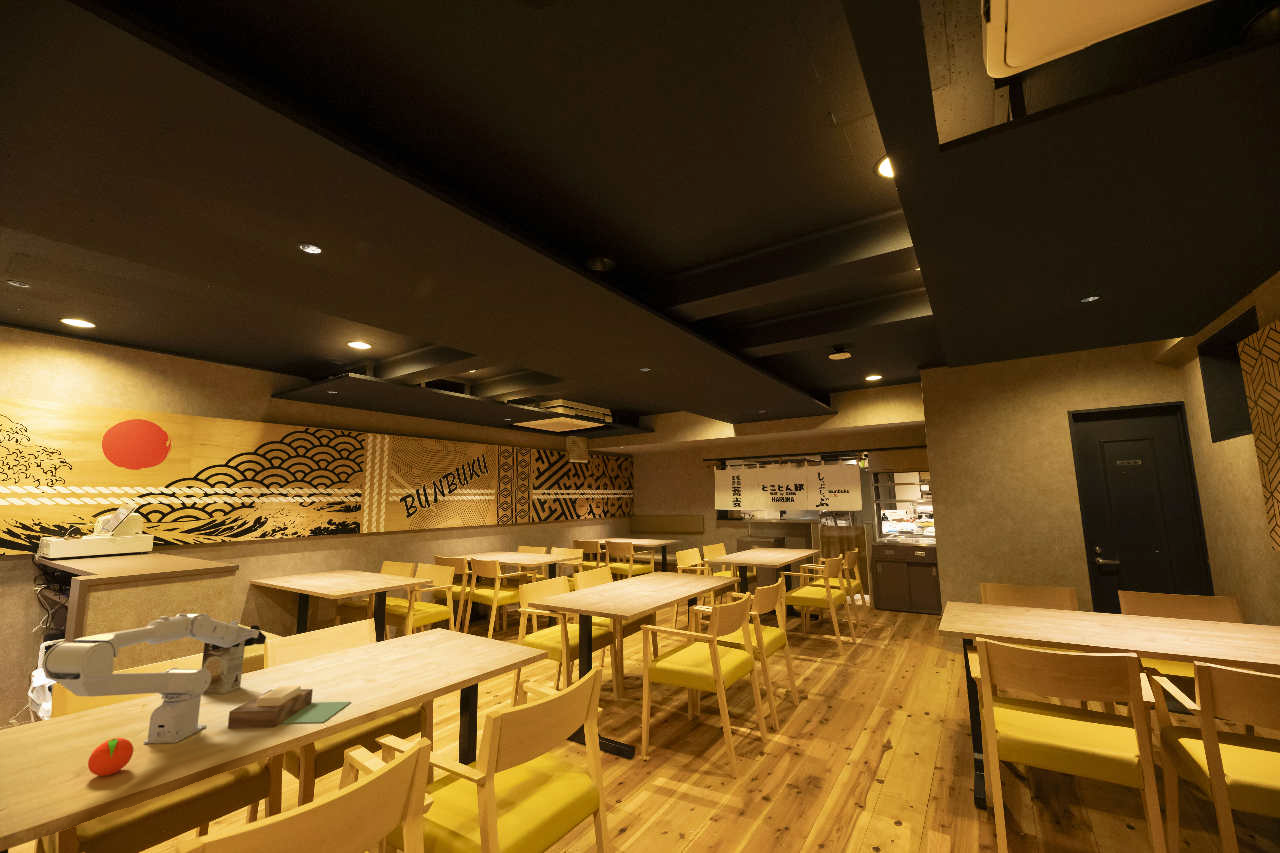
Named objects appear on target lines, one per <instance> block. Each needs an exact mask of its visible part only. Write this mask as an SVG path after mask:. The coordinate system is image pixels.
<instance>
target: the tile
mask: <svg viewBox="0 0 1280 853" xmlns="http://www.w3.org/2000/svg"><path fill="white" fill-rule="evenodd" d="M301 687H302V686H301V685H291V686H290V685H288V686H287V685H286V686H285V685H284V686H282V685H281V686H280V685H279V686H277V687H276V688H273V689H271V690H272V691H270V690H269V691H270V692H268V691H267V692H268V693H266V692H265V693H266V694H264V693H263V694H264V695H262V694H261V695H262V696H260V695H259V696H260V697H258V696H257V697H258V698H257V706H280V705H281V704H283V703H285V702H286V701H288V700H290V699H291V698H293V697H295V696H297V695H298V694H300V689H302V688H301Z"/></svg>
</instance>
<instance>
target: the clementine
mask: <svg viewBox="0 0 1280 853" xmlns="http://www.w3.org/2000/svg"><path fill="white" fill-rule="evenodd" d="M133 754H134V746H133V744H132V742H131V741H130V740H128V739H126V738H123V737H118V738H112V739H109V740H106V741H104V742H103V743H100V745H98V746H97V747H96V748H95V749H94V750H93V751H92V753H91V754H90V756H89V759H88V760H87V767H88V769H89V771H90V772H91V773H92V774H93V775H95V776H97V777H98V776H100V777H105V776H110V775H113V774H115V773H117V772H119V771H120V770H122V769H123V768H124V767H126V766H127V764H128V763H129V762H130V761H131V759H132V757H133Z"/></svg>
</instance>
